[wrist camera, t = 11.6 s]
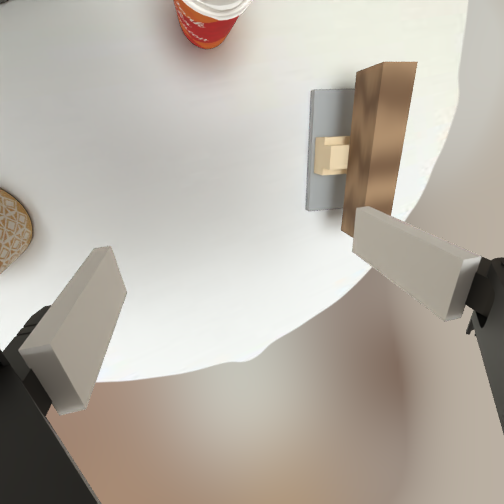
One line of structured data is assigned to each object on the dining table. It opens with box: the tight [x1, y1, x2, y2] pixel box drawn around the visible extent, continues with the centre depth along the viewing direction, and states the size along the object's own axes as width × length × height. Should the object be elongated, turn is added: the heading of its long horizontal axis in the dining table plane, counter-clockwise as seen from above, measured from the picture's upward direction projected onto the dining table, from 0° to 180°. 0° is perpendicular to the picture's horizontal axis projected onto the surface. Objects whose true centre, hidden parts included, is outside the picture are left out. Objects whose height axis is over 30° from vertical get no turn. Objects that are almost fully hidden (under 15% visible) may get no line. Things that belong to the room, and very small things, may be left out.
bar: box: [341, 62, 417, 237], centre depth 34 cm, size 20×4×5 cm, turn 3°
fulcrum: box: [306, 89, 355, 211], centre depth 39 cm, size 17×10×6 cm, turn 2°
